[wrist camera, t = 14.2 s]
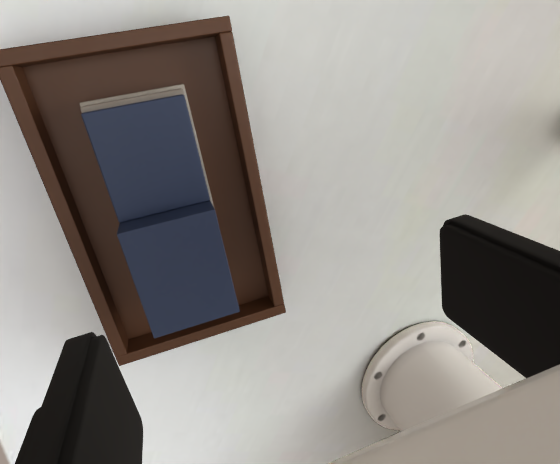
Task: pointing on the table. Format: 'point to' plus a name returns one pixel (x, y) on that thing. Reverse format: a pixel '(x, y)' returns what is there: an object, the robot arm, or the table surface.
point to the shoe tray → (89, 181)
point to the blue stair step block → (162, 206)
